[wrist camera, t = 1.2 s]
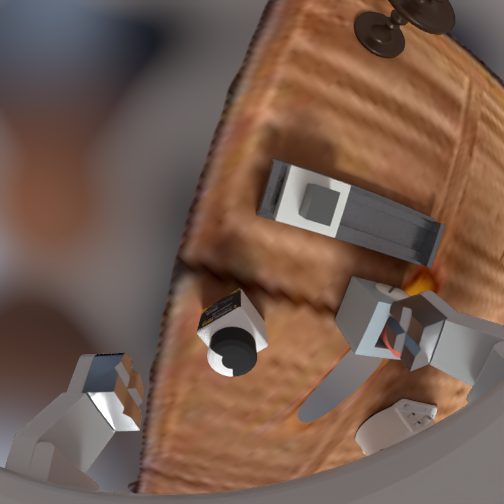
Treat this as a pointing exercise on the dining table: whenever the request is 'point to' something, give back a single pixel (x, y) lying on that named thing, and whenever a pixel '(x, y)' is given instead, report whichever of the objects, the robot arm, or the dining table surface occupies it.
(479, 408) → the robot arm
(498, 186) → the dining table surface
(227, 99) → the dining table surface
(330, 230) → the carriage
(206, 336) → the medicine bottle
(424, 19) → the candlestick
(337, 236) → the rail
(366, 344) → the gauge cabinet
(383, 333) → the button
